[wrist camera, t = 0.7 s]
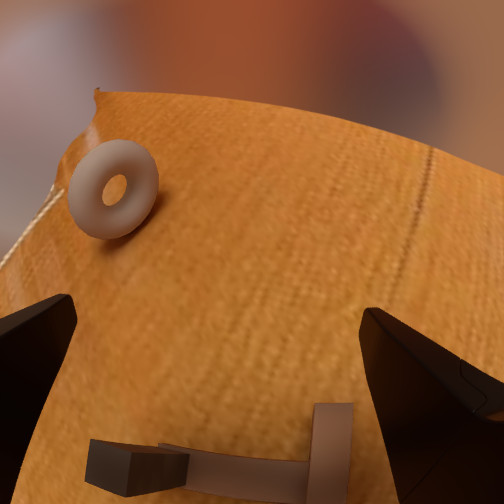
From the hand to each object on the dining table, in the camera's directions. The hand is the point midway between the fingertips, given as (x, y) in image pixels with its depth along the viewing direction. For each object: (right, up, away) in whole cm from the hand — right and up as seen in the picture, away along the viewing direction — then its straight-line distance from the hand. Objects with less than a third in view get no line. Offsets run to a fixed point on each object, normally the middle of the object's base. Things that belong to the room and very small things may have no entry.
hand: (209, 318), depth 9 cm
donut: (-11, +5, +24) cm, 27 cm away
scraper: (+1, -13, +9) cm, 16 cm away
